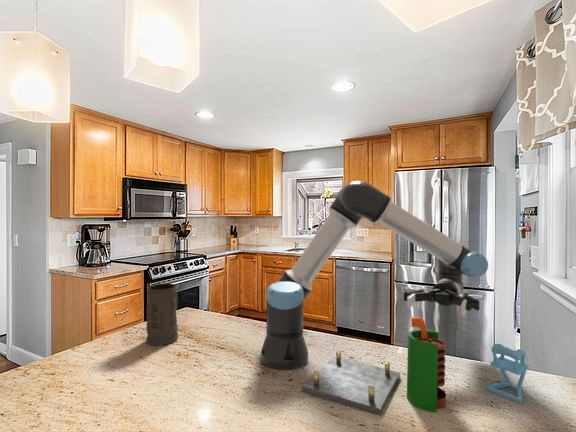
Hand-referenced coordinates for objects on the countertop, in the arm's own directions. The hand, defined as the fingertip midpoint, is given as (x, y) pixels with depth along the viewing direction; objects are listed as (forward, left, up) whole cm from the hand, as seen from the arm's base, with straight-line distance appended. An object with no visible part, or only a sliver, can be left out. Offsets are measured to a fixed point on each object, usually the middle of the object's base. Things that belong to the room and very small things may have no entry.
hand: (434, 306), depth 89 cm
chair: (+17, +6, -21) cm, 28 cm away
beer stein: (-90, -16, -21) cm, 94 cm away
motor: (-1, -10, -21) cm, 23 cm away
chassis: (-19, -12, -21) cm, 31 cm away
